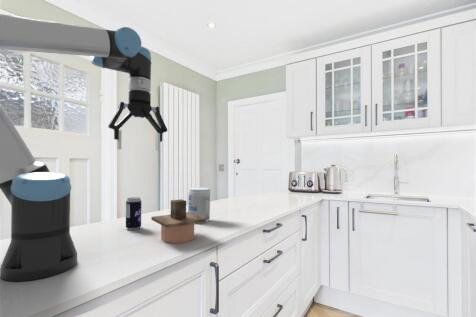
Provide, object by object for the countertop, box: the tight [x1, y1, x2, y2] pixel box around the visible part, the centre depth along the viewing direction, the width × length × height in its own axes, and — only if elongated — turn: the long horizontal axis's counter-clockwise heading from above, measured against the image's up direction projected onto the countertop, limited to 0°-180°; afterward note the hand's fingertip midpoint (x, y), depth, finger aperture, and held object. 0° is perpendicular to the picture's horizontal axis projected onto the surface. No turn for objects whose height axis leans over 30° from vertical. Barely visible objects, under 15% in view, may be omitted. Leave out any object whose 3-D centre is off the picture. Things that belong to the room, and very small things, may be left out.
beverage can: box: [125, 196, 142, 231], centre depth 103 cm, size 6×6×12 cm
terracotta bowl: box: [160, 224, 195, 244], centre depth 91 cm, size 11×11×6 cm
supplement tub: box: [187, 186, 211, 224], centre depth 116 cm, size 10×10×15 cm
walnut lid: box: [150, 199, 207, 228], centre depth 91 cm, size 14×14×7 cm
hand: (139, 150), depth 95 cm, fingers open, 13 cm apart
